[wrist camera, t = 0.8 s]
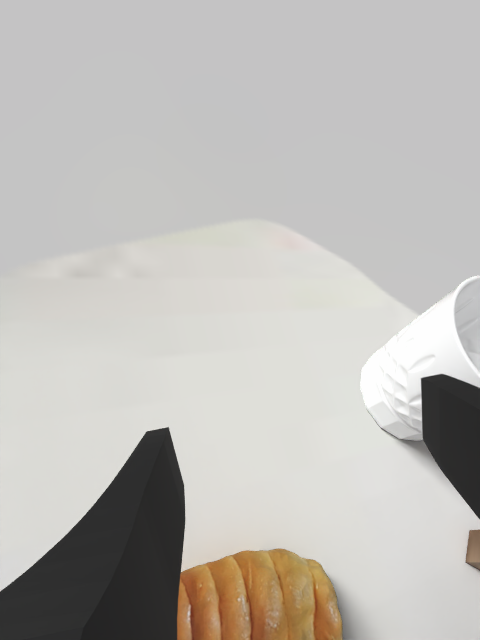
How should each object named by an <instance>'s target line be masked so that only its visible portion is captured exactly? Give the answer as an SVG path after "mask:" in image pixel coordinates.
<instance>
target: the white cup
mask: <svg viewBox="0 0 480 640" xmlns="http://www.w3.org/2000/svg"><path fill="white" fill-rule="evenodd" d="M438 374H445V375H448V376H451V377H454V378H456V379H459V380H462V381H464V382H467V383H469V384H472V385H474V386H477V387H479V388H480V276H475V277H471V278H469V279H467V280H465V281H464V282H462V283H461V284H460V285H458V286H457V287H456V288H455V289H453V290H452V291H451V292H450V293H448V294H447V295H446V296H445V297H443V298H442V299H441V300H439V301H438V302H437V303H436V304H434V305H433V306H432V307H430V308H429V309H428V310H426V311H425V312H424V313H423V314H421V315H420V316H419V317H417V318H416V319H415V320H413V321H412V322H411V323H410V324H409V325H408V326H406V327H405V328H404V329H403V330H402V331H400V332H399V333H397V334H396V335H395V336H394V337H393V338H392V339H391V340H390V341H389V342H388V343H387V344H386V345H385V346H383V347H382V348H381V349H379V350H378V351H377V352H375V353H374V354H373V355H372V356H371V357H370V358H369V360H368V361H367V363H366V364H365V365H364V367H363V368H362V374H361V384H360V389H361V393H362V396H363V399H364V402H365V406H366V409H367V410H368V412H369V413H370V414H371V415H372V417H373V418H374V419H375V421H376V422H377V423H378V425H379V426H380V427H381V428H382V429H384V430H386V431H387V432H389V433H391V434H392V435H394V436H395V437H397V438H399V439H405V440H415V441H420V440H423V436H422V400H421V378H422V377H428V376H433V375H438Z"/></svg>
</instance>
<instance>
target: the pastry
mask: <svg viewBox="0 0 480 640" xmlns="http://www.w3.org/2000/svg"><path fill="white" fill-rule="evenodd" d="M177 640H343V635H342V619H341V615H340V612H339V609H338V606H337V596H336V593H335V590H334V588H333V585H332V583H331V581H330V579H329V578H328V576H327V575H326V573H325V571H324V570H323V568H322V566H321V564H319V563H318V562H316V561H315V560H311V559H305V558H301V557H299V556H298V555H297V554H295V553H293V552H290V551H287V550H285V549H274V550H269V551H263V550H262V551H242V552H239V553H237V554H234V555H230V556H226V557H224V558H222V559H220V560H217V561H214V562H209V563H206V564H203V565H198V566H196V567H193V568H191V569H188V570H185V571H183V572H181V574H180V585H179V596H178V613H177Z"/></svg>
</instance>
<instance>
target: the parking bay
mask: <svg viewBox="0 0 480 640" xmlns="http://www.w3.org/2000/svg"><path fill="white" fill-rule="evenodd" d="M466 563H468V564H470V565H471V566H473V567H475V568H477V569H478V570H480V530H470V532H469V539H468V547H467V554H466Z"/></svg>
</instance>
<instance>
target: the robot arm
mask: <svg viewBox="0 0 480 640" xmlns="http://www.w3.org/2000/svg"><path fill="white" fill-rule="evenodd" d="M421 400H422V436H423V440H424V442H425V444H426V445H427V447H428V449H429V451H430V452H431V454H432V456H433V458H434V459H435V461H436V462H437V464H438V466H439V467H440V469H441V470H442V472H443V473H444V474H445V476H446V477H447V478H448V479H449V481H450V482H451V483H452V485H453V486H454V487H455V489H456V490H457V491H458V492H459V494H460V495H461V496H462V497H463V499H464V500H465V501H466V503H467V504H468V505H469V506H470V508H471V509H472V510H473V511H474V513H475V514H476V515H477V516H478V518H479V519H480V388H479V387H477V386H474V385H472V384H469V383H467V382H464V381H462V380H459V379H456V378H454V377H451V376H448V375H445V374H438V375H433V376H428V377H422V378H421ZM184 529H185V496H184V484H183V480H182V476H181V472H180V469H179V465H178V461H177V457H176V454H175V450H174V446H173V442H172V439H171V435H170V431H169V427H168V428H162V429H157V430H152V431H147V432H146V434H145V435H144V436H143V438H142V439H141V441H140V442H139V444H138V445H137V447H136V448H135V450H134V451H133V453H132V454H131V456H130V457H129V459H128V460H127V461H126V463H125V464H124V466H123V467H122V469H121V470H120V471H119V473H118V474H117V476H116V477H115V478H114V480H113V481H112V483H111V484H110V485H109V487H108V488H107V489H106V490H105V492H104V493H103V494H102V495H101V497H100V498H99V499H98V500H97V502H96V503H95V504H94V505H93V507H92V508H91V509H90V510H89V511H88V512H87V513H86V515H85V516H84V517H83V518H82V519H81V520H80V521H79V522H78V523H77V524H76V525H75V526H74V527H73V528H72V529H71V530H70V532H69V533H68V534H67V535H66V536H65V537H64V538H63V539H62V540H60V541H59V542H58V543H57V544H56V545H55V546H54V547H53V548H52V549H51V550H49V551H48V552H47V553H46V554H45V555H44V556H43V557H42V558H41V559H40V560H38V561H37V562H36V563H35V564H34V565H33V566H32V567H31V568H29V569H28V570H27V571H26V572H25V573H23V574H22V575H21V576H20V577H18V578H17V579H16V580H15V581H14V582H12V583H11V584H10V585H8V586H7V587H6V588H4V589H3V590H2V591H1V592H0V640H177V613H178V596H179V585H180V574H181V563H182V552H183V541H184Z"/></svg>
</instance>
